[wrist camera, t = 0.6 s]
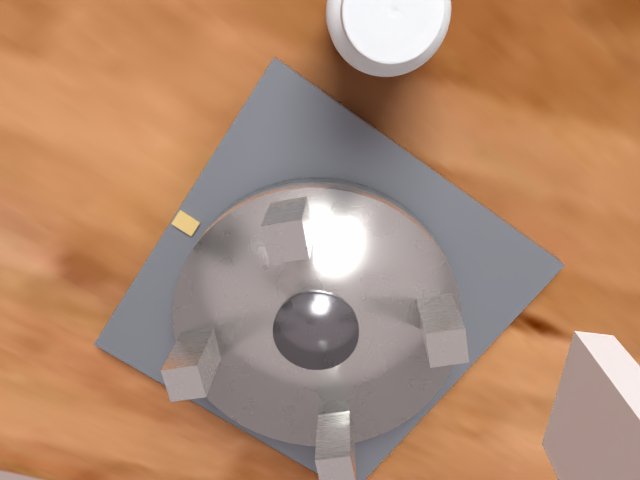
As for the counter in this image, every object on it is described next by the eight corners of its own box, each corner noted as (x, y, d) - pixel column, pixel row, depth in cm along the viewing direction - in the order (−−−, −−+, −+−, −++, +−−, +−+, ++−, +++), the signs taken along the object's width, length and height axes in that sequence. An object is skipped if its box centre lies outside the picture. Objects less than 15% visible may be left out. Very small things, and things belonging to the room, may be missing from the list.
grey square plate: (99, 336, 39) (92, 346, 38) (275, 56, 32) (273, 58, 31) (351, 483, 42) (351, 495, 41) (558, 259, 35) (565, 266, 34)
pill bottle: (444, 40, 31) (486, 45, 22) (355, 84, 32) (359, 106, 23) (405, -59, 30) (432, -98, 20) (313, -9, 31) (299, -24, 21)
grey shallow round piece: (220, 434, 39) (196, 509, 33) (151, 202, 34) (108, 241, 28) (467, 404, 38) (490, 476, 32) (438, 153, 32) (460, 183, 26)
